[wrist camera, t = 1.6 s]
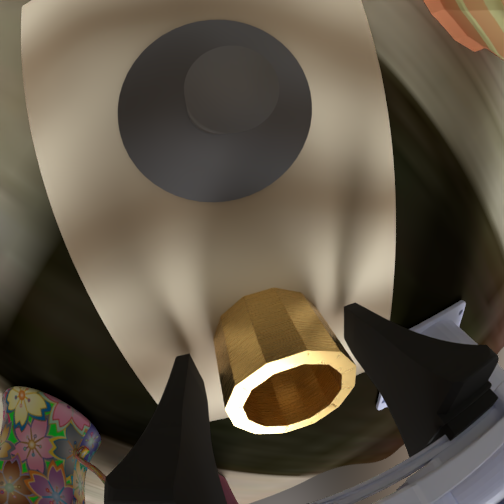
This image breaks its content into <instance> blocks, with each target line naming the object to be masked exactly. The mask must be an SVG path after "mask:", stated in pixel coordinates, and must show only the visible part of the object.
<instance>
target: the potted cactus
mask: <svg viewBox="0 0 504 504" xmlns="http://www.w3.org/2000/svg"><path fill="white" fill-rule="evenodd" d="M423 1H424V2H425V4H426V6H427V7H428V9H429V11H430V13H431V14H432V15H433V16H434V17H435V18H436V19H437V21H438V22H439V23H440V24H441V25H442V26H443V27H444V28H445V29H446V31H447V32H448V33H449V34H450V35H451V36H452V38H453V39H454V40H455V41H457V42H458V43H460V44H462V45H464V46H465V47H467V48H469V49H470V50H472V51H473V52H476V51H479V50H481V49H484V48H486V49H487V50H489V51H490V52H492V53H493V54H495V55H496V56H498V57H499V58H501V59H502V60H503V61H504V0H423Z"/></svg>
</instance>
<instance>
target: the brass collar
mask: <svg viewBox="0 0 504 504" xmlns="http://www.w3.org/2000/svg"><path fill="white" fill-rule="evenodd" d="M213 341H214V347H215V354H216V360H217V366H218V372H219V378H220V384H221V390H222V395H223V401H224V406H225V410H226V412H227V414H228V415H229V417H230V419H231V421H232V423H233V424H234V426H236V427H239V428H241V429H244V430H247V431H250V432H252V433H255V434H270V433H286V432H289V431H292V430H295V429H298V428H301V427H304V426H307V425H310V424H313V423H315V422H317V421H318V420H320V419H321V418H323V417H324V416H326V415H327V414H329V413H330V412H332V411H333V410H335V409H336V408H337V407H339V406H340V404H341V403H342V402H343V401H344V399H345V398H346V397H347V395H348V394H349V393H350V391H351V390H352V389H353V387H354V386H355V377H356V364H355V363H354V361H353V360H352V358H351V357H350V356H349V354H348V353H347V351H346V350H345V348H344V347H343V345H342V344H341V342H340V341H339V339H338V338H337V336H336V335H335V334H334V332H333V331H332V329H331V328H330V326H329V325H328V323H327V322H326V321H325V319H324V318H323V316H322V315H321V313H320V312H319V310H318V309H317V308H316V307H315V306H314V305H313V304H312V303H311V302H310V301H309V300H308V299H307V298H306V297H305V296H304V295H303V294H302V293H301V292H296V291H291V290H285V289H280V288H270V289H267V290H263V291H260V292H256V293H253V294H250V295H246V296H244V297H242V298H241V299H240V300H238V301H237V302H236V303H235V304H234V305H233V306H232V307H230V308H229V309H228V310H227V311H226V312H225V313H223V314H222V315H221V316H220V320H219V323H218V326H217V329H216V332H215V335H214V338H213Z"/></svg>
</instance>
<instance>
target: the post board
mask: <svg viewBox="0 0 504 504" xmlns="http://www.w3.org/2000/svg"><path fill="white" fill-rule="evenodd" d="M21 55H22V71H23V82H24V91H25V98H26V105H27V112H28V118H29V123H30V129H31V134H32V138H33V143H34V147H35V152H36V156H37V160H38V164H39V167H40V171H41V175H42V178H43V182H44V185H45V188H46V191H47V195H48V198H49V201H50V204H51V207H52V210H53V213H54V215H55V218H56V221H57V224H58V226H59V229H60V232H61V234H62V237H63V239H64V242H65V244H66V247H67V249H68V251H69V254H70V256H71V258H72V261H73V263H74V265H75V267H76V269H77V272H78V274H79V276H80V278H81V280H82V282H83V284H84V286H85V288H86V290H87V292H88V294H89V296H90V298H91V300H92V302H93V304H94V306H95V308H96V310H97V311H98V313H99V315H100V317H101V319H102V321H103V322H104V324H105V326H106V328H107V329H108V331H109V333H110V334H111V336H112V338H113V339H114V341H115V343H116V344H117V346H118V348H119V349H120V351H121V352H122V354H123V355H124V357H125V359H126V360H127V362H128V363H129V365H130V366H131V368H132V369H133V371H134V372H135V374H136V375H137V377H138V378H139V379H140V381H141V382H142V384H143V385H144V386H145V388H146V389H147V391H148V392H149V393H150V395H151V396H152V397H153V399H154V400H155V401H156V403H157V404H159V402H160V399H161V397H162V395H163V392H164V390H165V387H166V384H167V382H168V379H169V376H170V373H171V370H172V367H173V364H174V361H175V358H176V357H177V356H180V355H185V354H189V353H190V355H191V357H192V359H193V361H194V363H195V365H196V367H197V369H198V371H199V373H200V375H201V377H202V379H203V381H204V385H205V389H206V394H207V400H208V409H209V421H214V420H219V419H223V418H227V417H229V415H228V414H227V412H226V410H225V406H224V401H223V395H222V390H221V384H220V378H219V372H218V366H217V360H216V354H215V347H214V341H213V338H214V335H215V332H216V329H217V326H218V323H219V320H220V316H221V315H222V314H223V313H225V312H226V311H227V310H228V309H229V308H230V307H232V306H233V305H234V304H235V303H236V302H237V301H238V300H240V299H241V298H242V297H244V296H246V295H250V294H253V293H256V292H260V291H263V290H267V289H270V288H280V289H285V290H291V291H296V292H301V293H302V294H303V295H304V296H305V297H306V298H307V299H308V300H309V301H310V302H311V303H312V304H313V305H314V306H315V307H316V308H317V309H318V310H319V312H320V313H321V315H322V316H323V318H324V319H325V321H326V322H327V323H328V325H329V326H330V328H331V329H332V331H333V332H334V334H335V335H336V336H337V338H338V339H339V341H340V342H341V344H342V345H343V347H344V348H345V350H346V351H347V353H348V354H349V356H350V357H351V358H352V360H353V361H354V363H355V364H356V375H358V374H360V373H362V372H365V371H364V370H363V368H362V367H361V365H360V364H359V363H358V361H357V360H356V359H355V357H354V356H353V354H352V352H351V351H350V349H349V347H348V345H347V343H346V341H345V339H344V306H347V305H349V304H352V303H355V302H356V303H357V304H359V305H361V306H363V307H365V308H367V309H369V310H370V311H372V312H374V313H376V314H378V315H380V316H382V317H383V318H385V319H387V320H389V321H390V315H391V306H392V295H393V283H394V269H395V245H396V201H395V177H394V163H393V151H392V141H391V132H390V124H389V117H388V110H387V103H386V97H385V92H384V86H383V81H382V76H381V71H380V66H379V62H378V57H377V53H376V49H375V45H374V41H373V38H372V34H371V30H370V27H369V23H368V20H367V17H366V14H365V10H364V7H363V4H362V1H361V0H32V1H30V2H28V3H27V4H25V5H24V6H22V15H21Z"/></svg>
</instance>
